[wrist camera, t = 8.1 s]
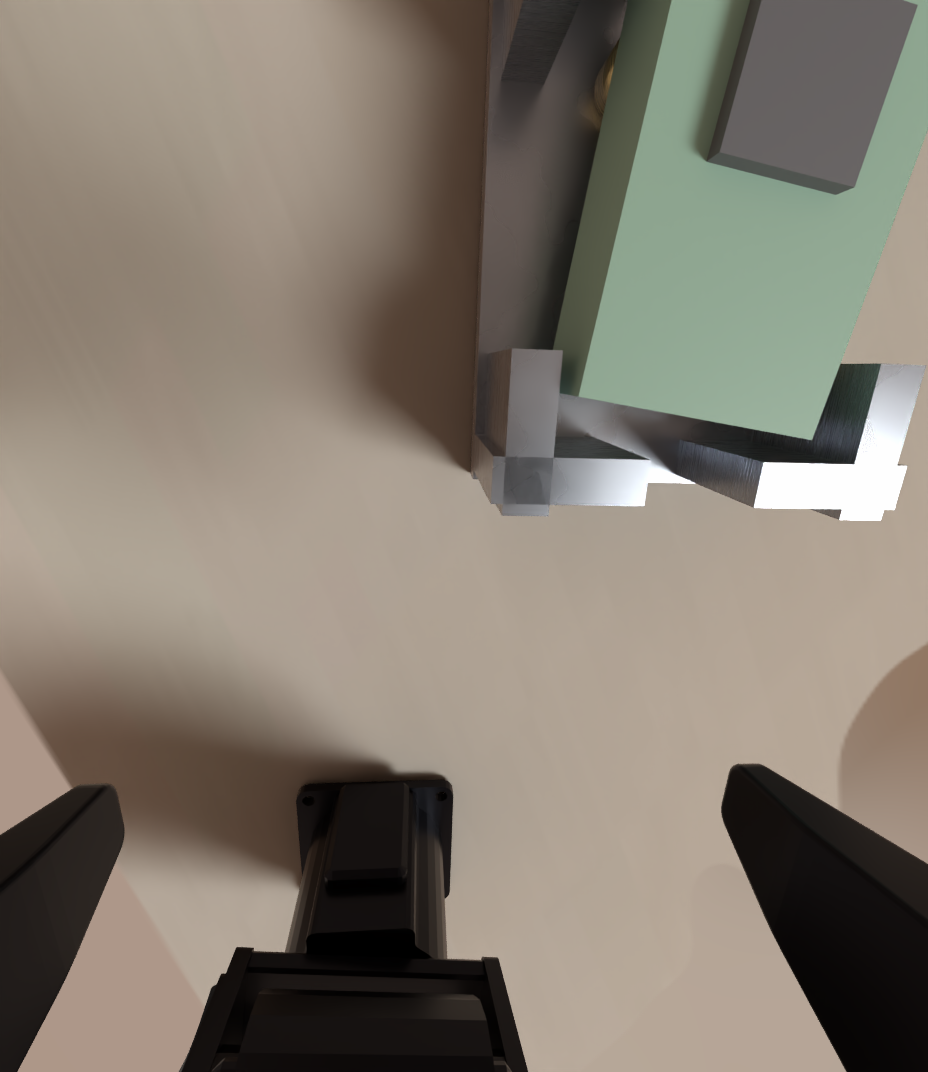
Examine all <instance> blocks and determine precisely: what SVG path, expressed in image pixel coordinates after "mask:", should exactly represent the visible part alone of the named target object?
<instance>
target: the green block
mask: <svg viewBox="0 0 928 1072" xmlns="http://www.w3.org/2000/svg"><path fill="white" fill-rule="evenodd" d="M927 130H928V0H628V3H627V8H626V12H625V17H624V21H623V26H622V31H621V35H620V40H619V45H618V49H617V54H616V59H615V63H614V68H613V73H612V77H611V82H610V86H609V91H608V96H607V100H606V105H605V110H604V114H603V119H602V124H601V128H600V133H599V138H598V142H597V147H596V151H595V156H594V161H593V165H592V170H591V175H590V179H589V184H588V189H587V193H586V198H585V203H584V207H583V212H582V216H581V221H580V226H579V230H578V235H577V240H576V244H575V249H574V254H573V258H572V263H571V267H570V272H569V277H568V281H567V286H566V291H565V295H564V300H563V305H562V309H561V314H560V319H559V323H558V328H557V332H556V337H555V342H554V346H553V350H563V356H562V368H561V379H560V390H559V393H561V394H566V395H572V396H577V397H582V398H588V399H593V400H599V401H604V402H609V403H615V404H620V405H625V406H631V407H636V408H641V409H647V410H652V411H658V412H663V413H668V414H674V415H679V416H684V417H690V418H695V419H700V420H706V421H711V422H717V423H722V424H727V425H733V426H738V427H743V428H749V429H754V430H760V431H765V432H770V433H776V434H781V435H787V436H792V437H798V438H803V439H808V440H812V438H813V436H814V433H815V430H816V428H817V425H818V422H819V420H820V417H821V414H822V412H823V409H824V406H825V404H826V401H827V398H828V396H829V393H830V390H831V388H832V385H833V382H834V380H835V377H836V374H837V371H838V369H839V366H840V363H841V361H842V358H843V355H844V353H845V350H846V347H847V345H848V342H849V339H850V337H851V334H852V331H853V329H854V326H855V323H856V321H857V318H858V315H859V313H860V310H861V307H862V304H863V302H864V299H865V296H866V294H867V291H868V288H869V286H870V283H871V280H872V278H873V275H874V272H875V270H876V267H877V264H878V262H879V259H880V256H881V254H882V251H883V248H884V246H885V243H886V240H887V237H888V235H889V232H890V229H891V227H892V224H893V221H894V219H895V216H896V213H897V211H898V208H899V205H900V203H901V200H902V197H903V195H904V192H905V189H906V187H907V184H908V181H909V179H910V176H911V173H912V170H913V168H914V165H915V162H916V160H917V157H918V154H919V152H920V149H921V146H922V144H923V141H924V138H925V136H926V133H927Z"/></svg>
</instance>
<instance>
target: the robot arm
mask: <svg viewBox="0 0 928 1072" xmlns="http://www.w3.org/2000/svg"><path fill="white" fill-rule="evenodd" d="M438 792H445V793H443V794H438ZM306 796H311V797H313V798H307V797H306ZM296 804H297V816H298V829H299V841H300V854H301V866H302V881H301V885H300V889H299V894H298V898H297V902H296V907H295V911H294V915H293V919H292V924H291V928H290V932H289V937H288V941H287V945H286V950H285V952H260V951H254V948H247V947H237V948H236V950H235V952H234V955H233V957H232V960H231V962H230V965H229V967H228V970H227V972H226V974H221V976H220V978H219V980H218V983H217V984H216V985H215V986H213V987H212V988H211V991H210V994H209V997H208V1000H207V1003H206V1006H205V1009H204V1012H203V1015H202V1018H201V1021H200V1024H199V1027H198V1029H197V1032H196V1035H195V1038H194V1040H193V1043H192V1045H191V1048H190V1050H189V1053H188V1055H187V1057H186V1059H185V1061H184V1063H183V1065H182V1067H181V1069H180V1070H179V1072H528V1070H527V1066H526V1062H525V1058H524V1055H523V1051H522V1047H521V1043H520V1039H519V1035H518V1032H517V1028H516V1024H515V1020H514V1016H513V1013H512V1009H511V1005H510V1001H509V997H508V993H507V990H506V986H505V982H504V978H503V974H502V970H501V967H500V963H499V959H498V958H497V957H482V959H481V960H464V959H447V941H446V919H445V898H446V897H447V896H448V895H449V892H450V867H451V840H452V812H453V789H452V785H451V784H450V782H448V781H446V780H419V781H387V782H355V783H323V784H307V785H304V786H302V787H301V788H300V790H299V792H298V796H297V800H296ZM721 813H722V818H723V822H724V825H725V827H726V829H727V832H728V834H729V836H730V839H731V841H732V843H733V845H734V848H735V850H736V852H737V855H738V857H739V859H740V861H741V864H742V866H743V868H744V871H745V873H746V875H747V878H748V880H749V882H750V884H751V886H752V889H753V891H754V894H755V896H756V898H757V900H758V902H759V905H760V907H761V909H762V912H763V914H764V916H765V919H766V921H767V923H768V925H769V927H770V929H771V931H772V933H773V935H774V937H775V939H776V941H777V943H778V945H779V947H780V949H781V951H782V953H783V955H784V957H785V958H786V960H787V962H788V964H789V966H790V968H791V969H792V971H793V973H794V975H795V977H796V979H797V981H798V982H799V984H800V986H801V988H802V990H803V992H804V994H805V996H806V997H807V999H808V1001H809V1003H810V1005H811V1007H812V1009H813V1011H814V1012H815V1014H816V1016H817V1018H818V1020H819V1022H820V1024H821V1025H822V1027H823V1029H824V1031H825V1033H826V1035H827V1037H828V1038H829V1040H830V1042H831V1044H832V1046H833V1048H834V1049H835V1051H836V1053H837V1055H838V1057H839V1059H840V1061H841V1063H842V1064H843V1066H844V1068H845V1070H846V1072H928V864H927V863H925V862H924V861H922V860H920V859H919V858H917V857H915V856H914V855H912V854H910V853H909V852H907V851H905V850H904V849H902V848H900V847H899V846H897V845H895V844H894V843H892V842H890V841H889V840H887V839H885V838H884V837H882V836H880V835H879V834H877V833H875V832H874V831H872V830H870V829H868V828H867V827H865V826H864V825H862V824H860V823H859V822H857V821H855V820H854V819H852V818H850V817H849V816H847V815H845V814H844V813H842V812H840V811H839V810H837V809H835V808H834V807H832V806H830V805H829V804H827V803H825V802H824V801H822V800H820V799H819V798H817V797H815V796H814V795H812V794H810V793H809V792H807V791H805V790H804V789H802V788H800V787H799V786H797V785H795V784H794V783H792V782H790V781H789V780H787V779H785V778H784V777H782V776H780V775H779V774H777V773H775V772H774V771H772V770H770V769H769V768H767V767H765V766H763V765H761V764H736V765H734V766H733V767H732V768H731V769H730V772H729V775H728V780H727V784H726V788H725V792H724V796H723V801H722V806H721ZM123 840H124V824H123V819H122V814H121V810H120V805H119V800H118V796H117V792H116V789H115V788H114V786H113V785H111V784H107V783H105V784H83V785H79V786H77V787H75V788H73V789H71V790H70V791H68V792H67V793H65V794H64V795H62V796H60V797H59V798H57V799H56V800H54V801H53V802H51V803H49V804H48V805H46V806H45V807H43V808H42V809H40V810H39V811H37V812H35V813H34V814H32V815H31V816H29V817H28V818H26V819H25V820H23V821H21V822H20V823H18V824H17V825H15V826H14V827H12V828H10V829H9V830H7V831H6V832H4V833H3V834H1V835H0V1072H17V1071H18V1069H19V1067H20V1065H21V1063H22V1062H23V1060H24V1058H25V1056H26V1054H27V1052H28V1050H29V1048H30V1046H31V1045H32V1043H33V1041H34V1039H35V1037H36V1035H37V1033H38V1031H39V1029H40V1027H41V1025H42V1023H43V1022H44V1020H45V1018H46V1016H47V1014H48V1012H49V1010H50V1008H51V1006H52V1004H53V1002H54V1001H55V999H56V997H57V995H58V993H59V991H60V989H61V987H62V985H63V983H64V981H65V979H66V977H67V974H68V972H69V970H70V968H71V966H72V964H73V961H74V959H75V957H76V955H77V952H78V950H79V948H80V945H81V943H82V940H83V938H84V936H85V933H86V931H87V929H88V926H89V924H90V921H91V919H92V916H93V914H94V912H95V910H96V907H97V905H98V902H99V900H100V898H101V895H102V893H103V891H104V888H105V886H106V883H107V881H108V879H109V876H110V874H111V871H112V869H113V867H114V864H115V862H116V860H117V857H118V855H119V853H120V850H121V847H122V844H123Z"/></svg>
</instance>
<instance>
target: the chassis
mask: <svg viewBox="0 0 928 1072" xmlns="http://www.w3.org/2000/svg"><path fill="white" fill-rule="evenodd" d="M627 3H628V0H489V21H488V46H487V71H486V96H485V121H484V146H483V171H482V196H481V222H480V247H479V272H478V297H477V322H476V347H475V372H474V397H473V422H472V447H471V472H470V474H471V476H472V478H473V479H478V480H479V482H480V484H481V486H482V488H483V490H484V492H485V493H486V495H487V497H488V499H489V501H490V503H491V504H496V506H497V507H498V509H499V511H500V513H501V515H503V516H548V514H549V505H600V506H644V504H645V497H646V490H647V483H648V482H650V483H696V484H699V485H701V486H703V487H706V488H708V489H710V490H713V491H715V492H718V493H720V494H722V495H725V496H727V497H730V498H732V499H734V500H737V501H739V502H741V503H744V504H746V505H749V506H751V507H753V508H802V509H811V510H814V511H817V512H819V513H822V514H825V515H828V516H830V517H833V518H836V519H839V520H881V518H882V514H883V511H884V510H894V509H895V505H896V502H897V499H898V495H899V492H900V489H901V485H902V482H903V479H904V475H905V472H906V469H907V466H906V465H901V464H897V463H898V460H899V457H900V453H901V450H902V446H903V443H904V440H905V436H906V433H907V429H908V426H909V423H910V419H911V416H912V412H913V409H914V406H915V402H916V399H917V395H918V392H919V389H920V385H921V382H922V378H923V375H924V372H925V368H926V365H901V364H840V366H839V369H838V371H837V374H836V377H835V380H834V382H833V385H832V388H831V390H830V393H829V396H828V398H827V401H826V404H825V406H824V409H823V412H822V414H821V417H820V420H819V422H818V425H817V428H816V430H815V433H814V436H813V438H812V440H808V439H803V438H798V437H792V436H787V435H781V434H776V433H770V432H765V431H760V430H754V429H749V428H743V427H738V426H733V425H727V424H722V423H717V422H711V421H706V420H700V419H695V418H690V417H684V416H679V415H674V414H668V413H663V412H658V411H652V410H647V409H641V408H636V407H631V406H625V405H620V404H615V403H609V402H604V401H599V400H593V399H588V398H582V397H577V396H572V395H566V394H561V393H559V390H560V379H561V368H562V356H563V350H553V346H554V342H555V337H556V332H557V328H558V323H559V319H560V314H561V309H562V305H563V300H564V295H565V291H566V286H567V281H568V277H569V272H570V267H571V263H572V258H573V254H574V249H575V244H576V240H577V235H578V230H579V226H580V221H581V216H582V212H583V207H584V203H585V198H586V193H587V189H588V184H589V179H590V175H591V170H592V165H593V161H594V156H595V151H596V147H597V142H598V138H599V133H600V128H601V124H602V119H603V114H604V110H605V105H606V100H607V96H608V91H609V86H610V82H611V77H612V73H613V68H614V63H615V59H616V54H617V49H618V45H619V40H620V35H621V31H622V26H623V21H624V17H625V12H626V8H627Z"/></svg>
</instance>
